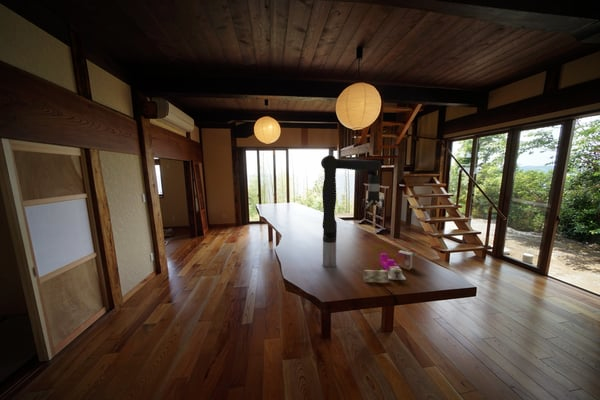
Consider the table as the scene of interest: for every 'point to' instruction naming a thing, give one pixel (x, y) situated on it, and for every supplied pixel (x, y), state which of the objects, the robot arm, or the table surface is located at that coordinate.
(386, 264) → the toy block
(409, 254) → the small box
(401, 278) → the pad
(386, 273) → the screen
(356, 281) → the table surface
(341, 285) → the table surface
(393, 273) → the birch cube
